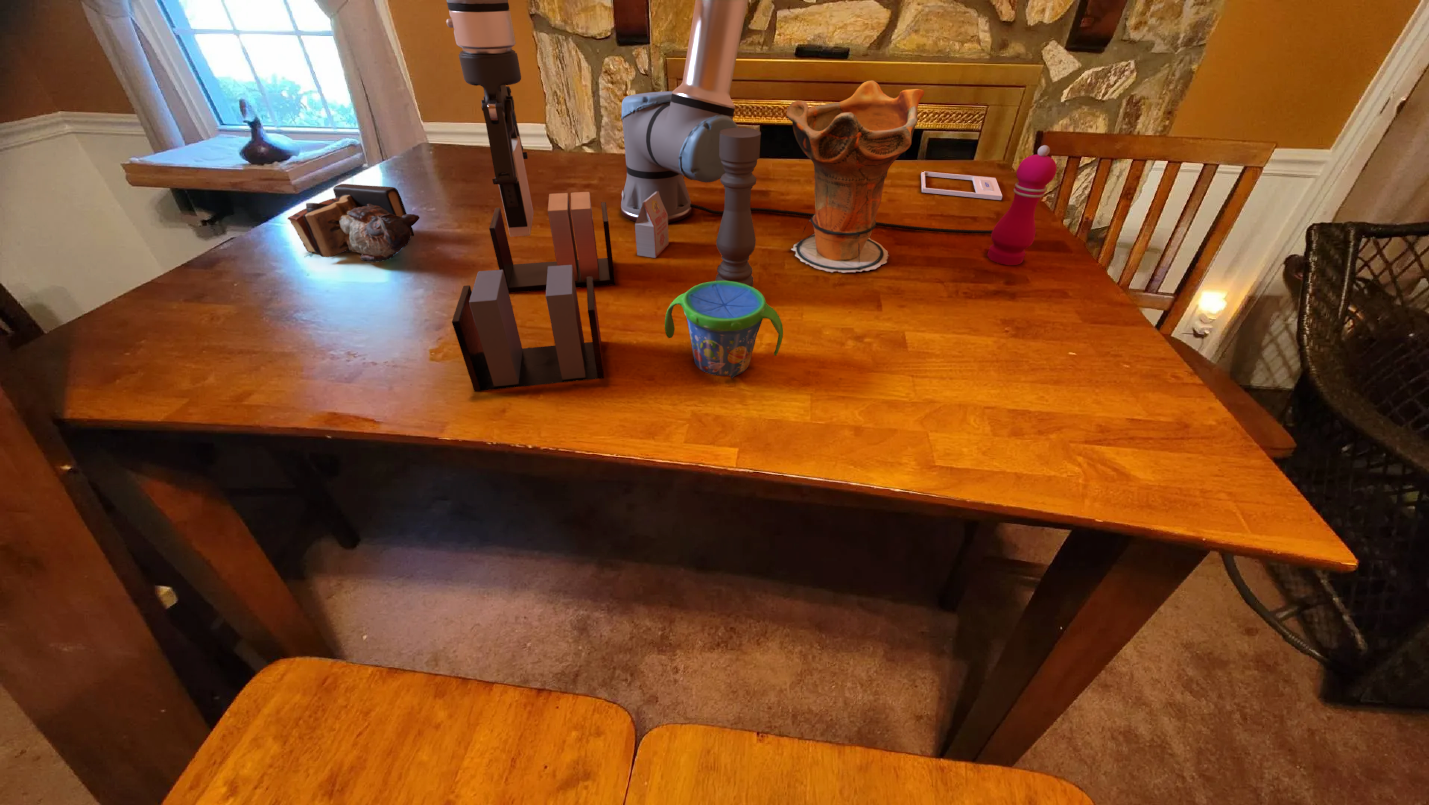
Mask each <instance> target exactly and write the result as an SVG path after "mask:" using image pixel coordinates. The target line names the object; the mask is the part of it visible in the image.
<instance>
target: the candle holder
mask: <svg viewBox="0 0 1429 805" xmlns="http://www.w3.org/2000/svg"><path fill="white" fill-rule="evenodd" d="M761 135H762V132H761V130H757V129H755V128H750V127H739V126H738V127H737V128H727V129H723V130H721V131H720V141H719V157H720V158H721V164H722V165H723V167H724V170H725V174H723V175H722V176H721V178H720V179H719V180H720V184H722V186H723V188H724V208H723V211H724V212H723V215H722V216H721V220H720V224H719V228H718V233H717V237H716V242H715V246H716V249H717V250H718V253H719V254H720V257H721V260H722V261H721V262H720V264H719V265H718V266H717V269H716V270H717V271H716V272H717V274H716V276H715V281H732V282H738V283H743V284H746V285H749V286H751V287H753V288H754V278H755V277H754V276H753V270H754V269H753V267H752V266H751V264H750V263H749V261H750V257H751V255H752V254H753V252H754V250H755V248H756V245H757V244H756V243H757V242H756V241H757V238H756V233H755V227H754V222H753V217H752V211H751V209H750V208H751V203H752V202H751V201H752V200H751V199H752V189H753V187H754V186H755V185H756V183H757V177H756V176H755V175H754V174H753V172H754V170H755V167H756V166H757V165H758V160H759V159H760V154H761V153H760V152H761Z"/></svg>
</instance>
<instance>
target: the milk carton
mask: <svg viewBox="0 0 1429 805" xmlns="http://www.w3.org/2000/svg"><path fill="white" fill-rule="evenodd" d="M634 231H635V246H636V255H637V256H639V257H647V258H652V259H653V258H654V259H656V258H657V257H658V256H659V255H660V254H661V253H662V252H664V250H665V249H666V248H667V247H668V246H669V244H670V242H669V240H670V239H669V238H670V237H669V223H668V214H667V212H666V209H665V207H664V205H663V203H662V201H661V198H660V195H659V191H658V192H657V191H656V192H655V193H653V194H652V195H651V196H650V197H649V198H647V199H646V200H645V201H644V202H642V207H641V210H640V213H639V216H638V218H637V220H636V222H635V223H634Z"/></svg>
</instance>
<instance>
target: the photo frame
mask: <svg viewBox="0 0 1429 805" xmlns="http://www.w3.org/2000/svg"><path fill="white" fill-rule="evenodd" d="M923 171H924V170H923ZM926 177H934V178H943V179H944V178H945V179H953V180H954V179H956V180H963V181H964V180H965V181H972V184H973V188H974V191H975V192H972V191H963V190H962V191H961V190H953V189H943V188H932V187H926ZM920 182H921V183H920V184H921V193H923V194H925V193H926V194H938V195H944V196H945V195H946V196H956V197H966V198H974V199H975V198H976V199H986V200H996V201H1002V200H1003V194H1002V192H1001V188H1000V186H999V183H998V181H997V178H996V177H990V176H979V175H970V174H957V173H947V172H946V173H945V172H935V171H924V172H922V171H921V173H920Z"/></svg>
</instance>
